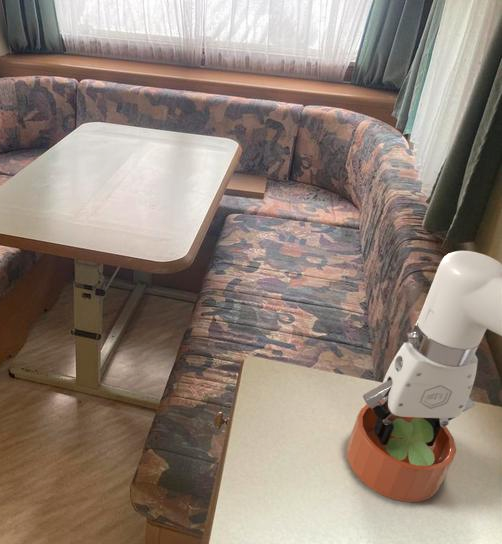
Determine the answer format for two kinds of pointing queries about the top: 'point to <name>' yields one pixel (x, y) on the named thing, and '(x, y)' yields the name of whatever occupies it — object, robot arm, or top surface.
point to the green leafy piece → (411, 441)
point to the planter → (396, 462)
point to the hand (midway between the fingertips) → (402, 437)
